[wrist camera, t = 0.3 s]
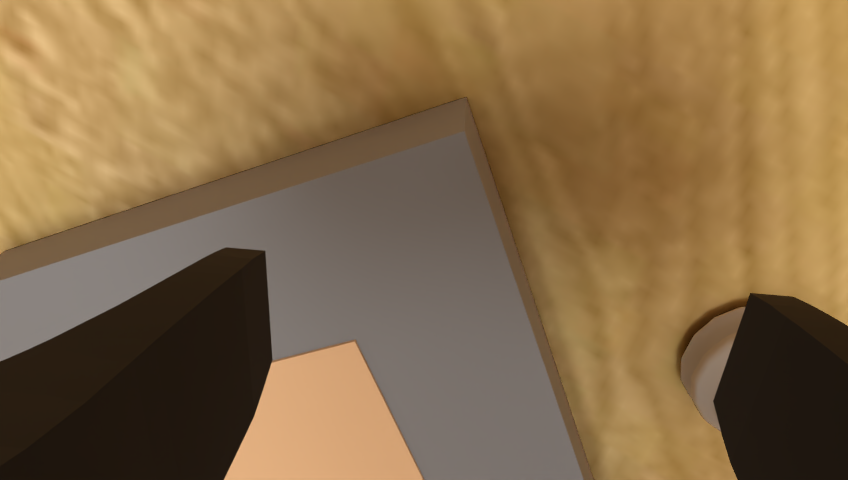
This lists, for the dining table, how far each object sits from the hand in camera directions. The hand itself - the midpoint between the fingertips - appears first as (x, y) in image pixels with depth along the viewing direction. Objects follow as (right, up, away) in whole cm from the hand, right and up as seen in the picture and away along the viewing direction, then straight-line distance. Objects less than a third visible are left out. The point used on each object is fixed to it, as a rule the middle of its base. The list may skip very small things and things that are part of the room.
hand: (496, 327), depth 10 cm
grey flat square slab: (-5, -4, +13) cm, 14 cm away
